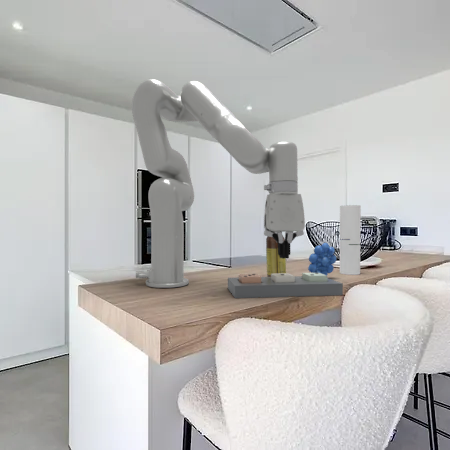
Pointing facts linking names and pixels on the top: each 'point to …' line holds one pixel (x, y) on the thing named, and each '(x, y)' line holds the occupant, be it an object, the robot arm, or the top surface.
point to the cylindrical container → (350, 239)
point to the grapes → (322, 259)
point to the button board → (284, 288)
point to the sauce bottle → (274, 257)
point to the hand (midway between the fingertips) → (284, 257)
